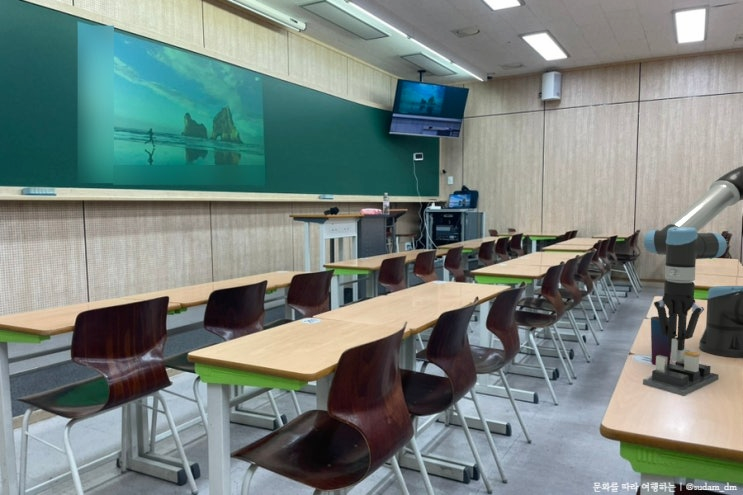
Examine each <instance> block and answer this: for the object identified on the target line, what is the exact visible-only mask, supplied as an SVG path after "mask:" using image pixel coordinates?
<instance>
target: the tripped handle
mask: <svg viewBox="0 0 743 495" xmlns="http://www.w3.org/2000/svg"><path fill="white" fill-rule="evenodd" d="M700 354H701V353H699V352H694V351H691V350H690V351H686V352H685V361H684V370H688V371H692V372H697V371H699V364H700Z"/></svg>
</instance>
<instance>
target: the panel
mask: <svg viewBox="0 0 743 495" xmlns="http://www.w3.org/2000/svg"><path fill="white" fill-rule="evenodd" d="M686 351H691V348H687V347H684V350H682V351H681V360H679V361H677V362H675V361H674V362H675V363H674V364H673V363H670V364H669V365H667V359H668V357H665V356H660V355H658V356H656V365H655V369H654V370H652V372H651V376H648V377H646V378H644V379H643V380H642V385H643V386H648V387H651V388H653V389H654V388H655V389H658V390H661V391H665V392H669V393H672V394H675V395H680V396H683V397H684V396H687V395H689V394H692V393H693V392H695V391H697V390H699V389H702V388H704V387H706V386H708V385H710V384H712V383H714V382H716V381H719V375H720V374H718V373H713V372H711V366H710V365H706V364H703V363H699V371H697V372H692V371H688V370H684V361H685V352H686Z"/></svg>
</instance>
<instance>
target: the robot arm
mask: <svg viewBox="0 0 743 495" xmlns="http://www.w3.org/2000/svg"><path fill="white" fill-rule="evenodd" d="M740 201H743V165H741V166H739V167H736V168H735V169H732V170H730V171H729V172H726V173H725V174H723V175H721V176H720V177H719V178H717V179H716V180H715V181H714V182H712V184H711V185H710V186H709V190H708V191H706V193H704V194H703V195H702V196H701V197H699V198H698V199H697V200H695V201H694V202H693V203H692V204H691V205H690V206H688V207H687V208H686V209H685V210H684V211H682V212H681V213H680V214H679V215H678V216H677V217H675V218H674V219H673V220H672V221H671V222H669V223H667V225H666V226H664V227H663V228H662V229H661V230H659V229H656V230H655V229H654V230H649V231H648V232H646V234H645V235H644V239H643V245H644V248H645V250H646V251H647V252H648V253H651V254H655V255H659V256H660V255H664V256H665V265H664V266H665V269H664V278H665V279H666V280H665V281H664V284H663V285H664V286H663V287H664V289H663V294H664V295H663V296H662V298H661V299H660V300H657V301H654V302H653V305H654V307H655V308H656V310H657V315H658V316H659V321H660V326H661V331H662V334H663V335H666V336H668V338H669V343H668V347H669V348H671V358H670V362H671V361H672V362H677V361H679V360H681V351H682V350H684V348H685V345H686V344H685V342H686V340H689V339H691V338H693V336H694V333H695V329H696V327H697V323H698V321H699V318H700V315H701V314H702V313H703V311H705V308H704V307H702V306H699V305H698V304H697V303H696V299H695V296H694V295H695V286H696V285H695V283H694V281H695V280H696V264H697V263H696V261H697V260H705V259H710V260H711V259H715V258H720V257H721V256H723V255H724V254H725V253H726V250H727V247H728V245H727V244H728V243H727V241H726V239H725V237H724V236H723V235H721V234H720V233H717V232H716V233H715V232H706V233H705V232H699V231H701V230H702V229H703V228H704V227H705V226H706V225H708V224H709V223H710V222H711V221H712V220H713V219H715V218H716V217H717V216H718V215H719V214H720V213H722V212H723V211H724V210H725V209H726V208H727V207H730V206H734V205H736V204H737V203H738V202H740ZM707 291H708V292H707V297H706V301H707V302H706V323H705V324H706V325H705V328H704V331H703V333H702V335H701V338H700V339H699V343H698V348H699V350H701V351H703V352H705V353H708V354H711V355H716V356H722V357H728V358H729V357H730V358H743V285H719V286H712V287H710V288H709V289H708V290H707ZM665 307H666V308H667V310H668V311H666V308H665ZM690 310H691V311H692V313H691V315H690V318H689V320H688V323H687V317H688V312H689V311H690ZM667 312H668V313H667ZM667 314H668V315H667ZM667 317H669V325H668V320H667Z"/></svg>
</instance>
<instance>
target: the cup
mask: <svg viewBox="0 0 743 495" xmlns="http://www.w3.org/2000/svg"><path fill="white" fill-rule="evenodd" d="M667 320H668V325H669V316H667ZM650 341H651V342H650V344H651V345H650V346H651V348H650V349H651V364H652V365H653V366H656V356H658V355H660V356H665V357H668V359H667V365H669V364H671V348H669V347H668V343H669V338H668V336H666V335H663V334H662V331H661V326H660V321H659V316H655V315H654V316H650Z"/></svg>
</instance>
